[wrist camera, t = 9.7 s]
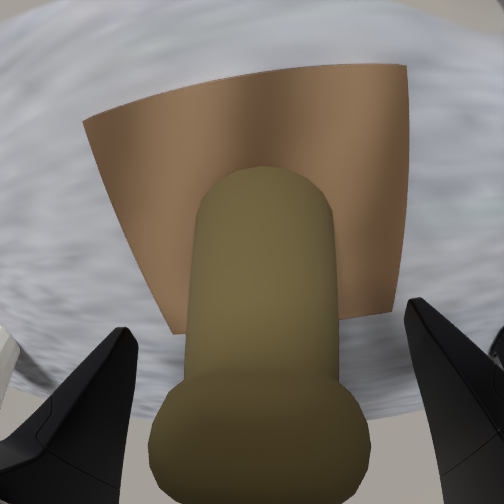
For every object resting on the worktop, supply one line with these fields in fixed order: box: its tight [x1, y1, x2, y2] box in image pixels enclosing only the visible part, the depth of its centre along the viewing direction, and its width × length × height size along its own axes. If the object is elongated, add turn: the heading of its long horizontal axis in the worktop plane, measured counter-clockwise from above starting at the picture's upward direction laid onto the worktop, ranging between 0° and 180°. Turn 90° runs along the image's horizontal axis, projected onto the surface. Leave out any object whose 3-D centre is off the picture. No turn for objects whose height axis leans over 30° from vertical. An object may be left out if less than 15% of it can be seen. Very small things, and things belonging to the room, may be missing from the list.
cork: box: [148, 166, 371, 504], centre depth 9 cm, size 6×6×11 cm
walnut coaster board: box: [82, 64, 409, 335], centre depth 14 cm, size 13×13×1 cm
